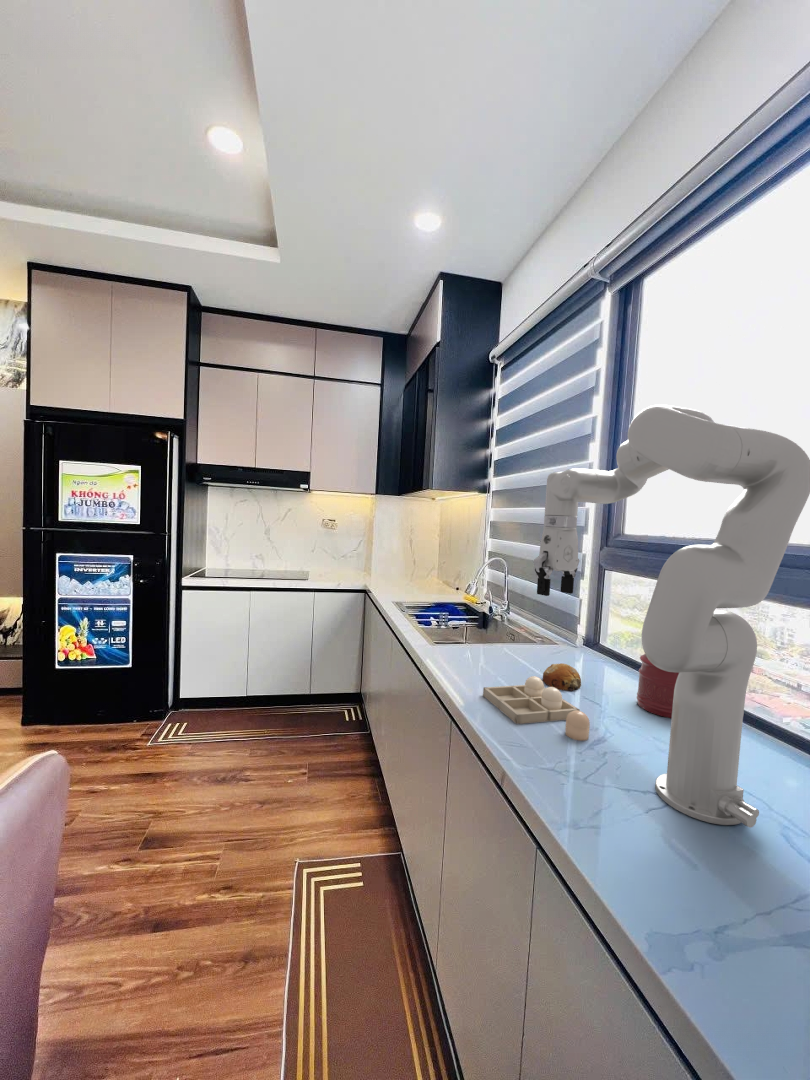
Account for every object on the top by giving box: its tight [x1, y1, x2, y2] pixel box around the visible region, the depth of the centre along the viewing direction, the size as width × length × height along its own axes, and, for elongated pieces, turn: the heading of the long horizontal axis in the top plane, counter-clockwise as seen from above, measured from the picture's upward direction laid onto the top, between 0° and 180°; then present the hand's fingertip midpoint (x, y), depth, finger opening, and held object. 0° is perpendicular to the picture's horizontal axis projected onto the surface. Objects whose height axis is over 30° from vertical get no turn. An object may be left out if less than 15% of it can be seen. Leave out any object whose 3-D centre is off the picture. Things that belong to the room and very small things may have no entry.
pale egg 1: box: [524, 675, 545, 697], centre depth 113 cm, size 5×5×6 cm
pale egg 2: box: [541, 686, 563, 710], centre depth 107 cm, size 5×5×6 cm
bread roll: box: [542, 663, 582, 692], centre depth 126 cm, size 10×10×8 cm
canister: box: [636, 653, 679, 719], centre depth 113 cm, size 13×13×18 cm
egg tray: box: [482, 684, 581, 725], centre depth 109 cm, size 16×16×3 cm
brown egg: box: [564, 710, 591, 742], centre depth 95 cm, size 5×5×6 cm
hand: (555, 593), depth 112 cm, fingers open, 9 cm apart
